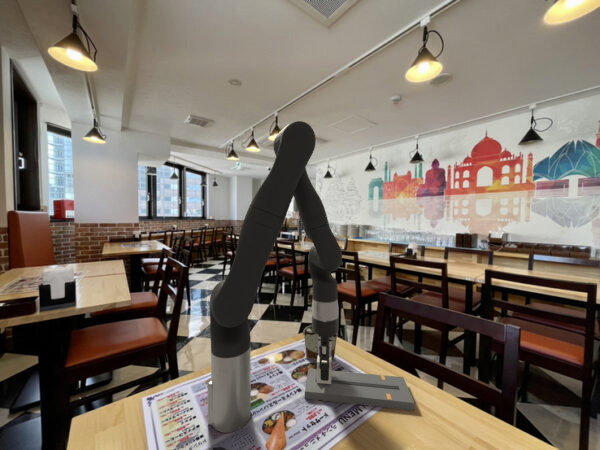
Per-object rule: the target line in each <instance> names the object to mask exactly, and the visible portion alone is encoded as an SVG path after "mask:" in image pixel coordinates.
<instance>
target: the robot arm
mask: <svg viewBox="0 0 600 450" xmlns="http://www.w3.org/2000/svg"><path fill="white" fill-rule="evenodd" d="M316 140H317V139H316V134H315V131H314V129H313V127H312V126H311V125H310V123H308V122H305V121H302V120H298V121H296V120H295V121H292V122H291V123H288V124H287V125H285V126H284V127H283V128H282V129H280V131H279V132H278V133H277V134H276V136H275V138H274V140H273V144H272V145H273V146H272V147H273V152H274V154H275V159H274V162H273V164H272V167H271V168H270V171H269V173H268V174H267V175H266V177H265V179H264V180H263V181H262V183H261V185H260V187H259V188H258V189H257V191H256V193H255V195H254V197H253V198H252V200H251V203H250V204H249V205H248V206H249V207H248V209H247V211H246V214H245V216H244V218H243V221H242V224H241V227H240V232H239V236H238V240H237V245H236V250H235V256H234V259H233V262H232V265H231V267H230V270H229V272H228V274H227V276H226V278H225V279H222V280H220V281H219V282H217V284H216V285H215V286H214V288H213V289H212V291H211V293H210V297H209V299H210V300H209V315H210V317H209V319H210V320H209V322H210V323H209V324H210V325H209V326H210V329H209V330H210V332H209V333H210V335H209V336H210V380H209V382H208V383H207V424H208V425H211V426H212V427H213V429H214V430H216V431H217V432H220V433H225V434H226V433H227V434H228V433H233V432H235V431H238V430H240V429H242V428H243V427H244V426H245V425H246V424H247V423H248V422H249V420H250V419H251V418H250V417H251V413H252V412H251V408H252V405H251V404H252V402H251V401H252V400H251V397H252V396H251V395H252V394H251V393H252V390H251V388H252V387H251V386H252V384H251V383H252V379H251V378H252V377H251V376H252V375H251V373H252V372H251V370H252V367H251V365H252V364H251V361H252V359H251V357H252V356H251V353H252V351H251V347H252V346H251V344H252V343H251V339H252V338H251V332H250V323H249V316H250V315H251V313H252V310H253V308H254V304H255V301H256V296H257V293H258V290H259V286H260V282H261V279H262V276H263V273H264V270H265V268H266V265H267V263H268V261H269V258H270V256H271V254H272V252H273V249H274V247H275V244H276V241H277V240H278V237H279V236H280V233H281V230H282V228H283V225H284V223H285V220H286V217H287V215H288V212H289V210H290V209H289V208H290V206H291V203H292V200H293V198H294V201H295V204H296V207H297V210H298V213H299V217H300V220H301V224H302V228H303V231H304V234H305V236H306V237H307V238H308V239H309V240H310V241H312V243H313V245H312V246H311V247H310V249H309V252H308V259H307V261H308V267H309V268H308V269H309V275H310V277H311V281H312V302H311V325H312V330H313V332H314V333H315V334H318V335H319V336H318V338H319V339H318V346H319V351H318V355H319V357H320V364H319V367H320V369H321V380H323V381H328V380H329V368H330V364H329V358H331V346H332V335H335V334H336V333H338V332H339V302H338V301H339V300H338V282H337V280H336V278H335V277H334V276H333V275H332V272H335V271H337V270H338V269H339V268H340V266H341V265H342V261H343V253H342V250H341V246H340V244H339V242H338V240H337V238H336V236H335V234H334V232H333V231H332V229H331V228H330V223H329V220H328V219H329V218H328V215H327V212H326V209H325V206H324V203H323V201H322V199H321V196H320V195H319V194H318V192H317V190H316V189H315V187H314V186H313V184H312V182H311V179H310V178H309V175H308V171H307V165H308V163H309V161H310V159H311V157H312V155H313V153H314V151H315V148H316V145H317V144H316V143H317V142H316ZM322 360H324V361H327V362H322Z"/></svg>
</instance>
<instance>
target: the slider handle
mask: <svg viewBox="0 0 600 450" xmlns="http://www.w3.org/2000/svg"><path fill="white" fill-rule="evenodd" d="M322 362H327V361H324V360H322ZM319 364H320V357H319V355H318V357H317V360H316V369H317V383H324V384H331V370H332V361H331V358H329V364H330V368H329V380H328V381H323V380H321V369H320V367H319Z"/></svg>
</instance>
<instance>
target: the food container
mask: <svg viewBox="0 0 600 450" xmlns="http://www.w3.org/2000/svg"><path fill="white" fill-rule="evenodd" d="M302 336H304V338H303V339H304V345H305V347H304V348H305V354H306V355H305V357H306V360H315V359H317V357H318V351H319V346H318V339H319V338H318V336H319V335H318V334H315V333H314V332H313V330H312V324H310V325H308V326H305V328H304V329H303V331H302ZM337 338H338V339H339V333H338V332H337V333H336V334H335V335H332V346H331V362H334V361H335V355H336V354H335V353H336V347H337V346H336V345H337Z"/></svg>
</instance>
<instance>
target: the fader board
mask: <svg viewBox="0 0 600 450" xmlns="http://www.w3.org/2000/svg"><path fill="white" fill-rule="evenodd" d="M306 375H307V376H306V382H305V387H304V399H305V400H314V401H315V400H317V401H324V402H335V403H340V404H351V405H359V404H361V406H368V405H369V406H371V407H379V408H385V409H387V408H388V409H396V410H405V411H413V412H414V411H415V401H414V399H413V396H412V394H411V392H410V389H409V387H408V384H407V382H406V380H405V377H404V376H397V375H396V376H395V375H383V374H372V373H362V372H361V373H360V372H351V371H341V370H340V371H339V370H332V369H331V384H324V383H317V368H309V367H308V371H307V374H306Z"/></svg>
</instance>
